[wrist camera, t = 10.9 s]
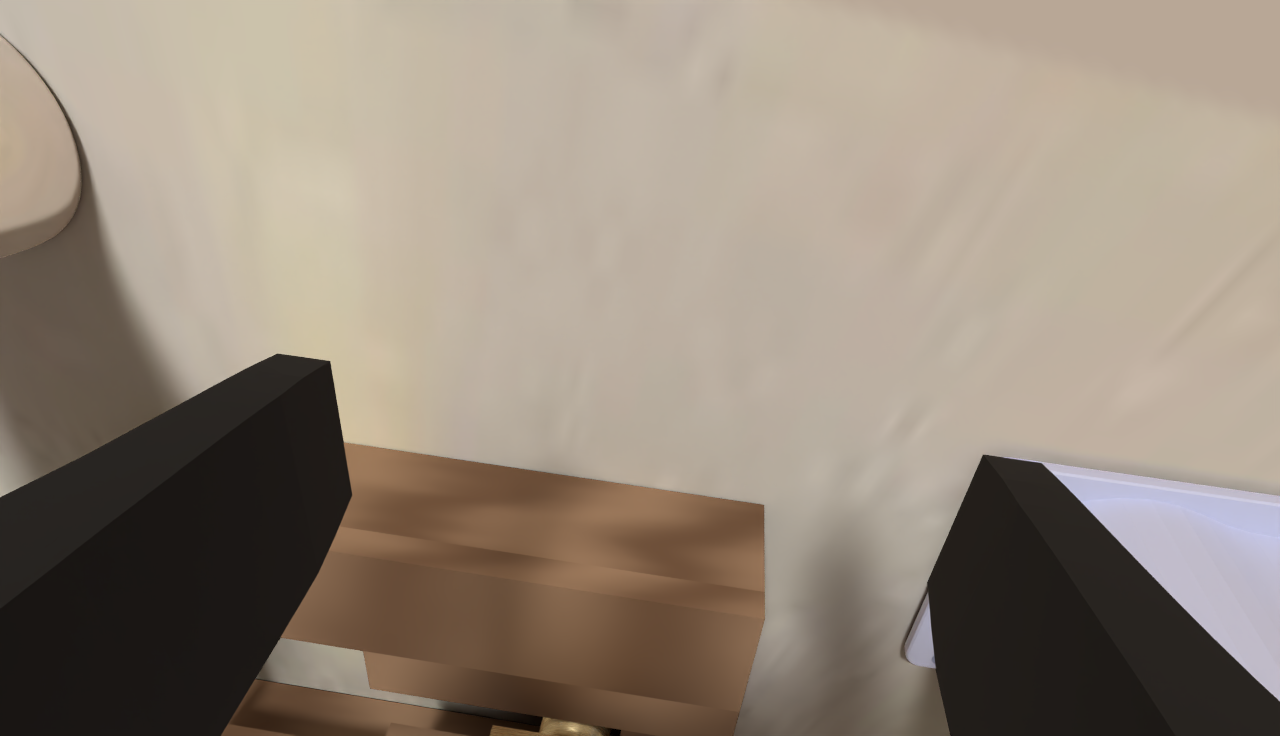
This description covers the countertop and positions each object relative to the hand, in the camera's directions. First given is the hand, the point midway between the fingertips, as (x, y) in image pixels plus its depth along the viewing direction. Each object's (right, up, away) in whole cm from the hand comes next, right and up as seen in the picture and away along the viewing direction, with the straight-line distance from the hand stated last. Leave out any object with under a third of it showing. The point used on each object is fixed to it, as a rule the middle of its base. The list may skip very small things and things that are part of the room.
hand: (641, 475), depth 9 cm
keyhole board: (-6, -7, +17) cm, 19 cm away
